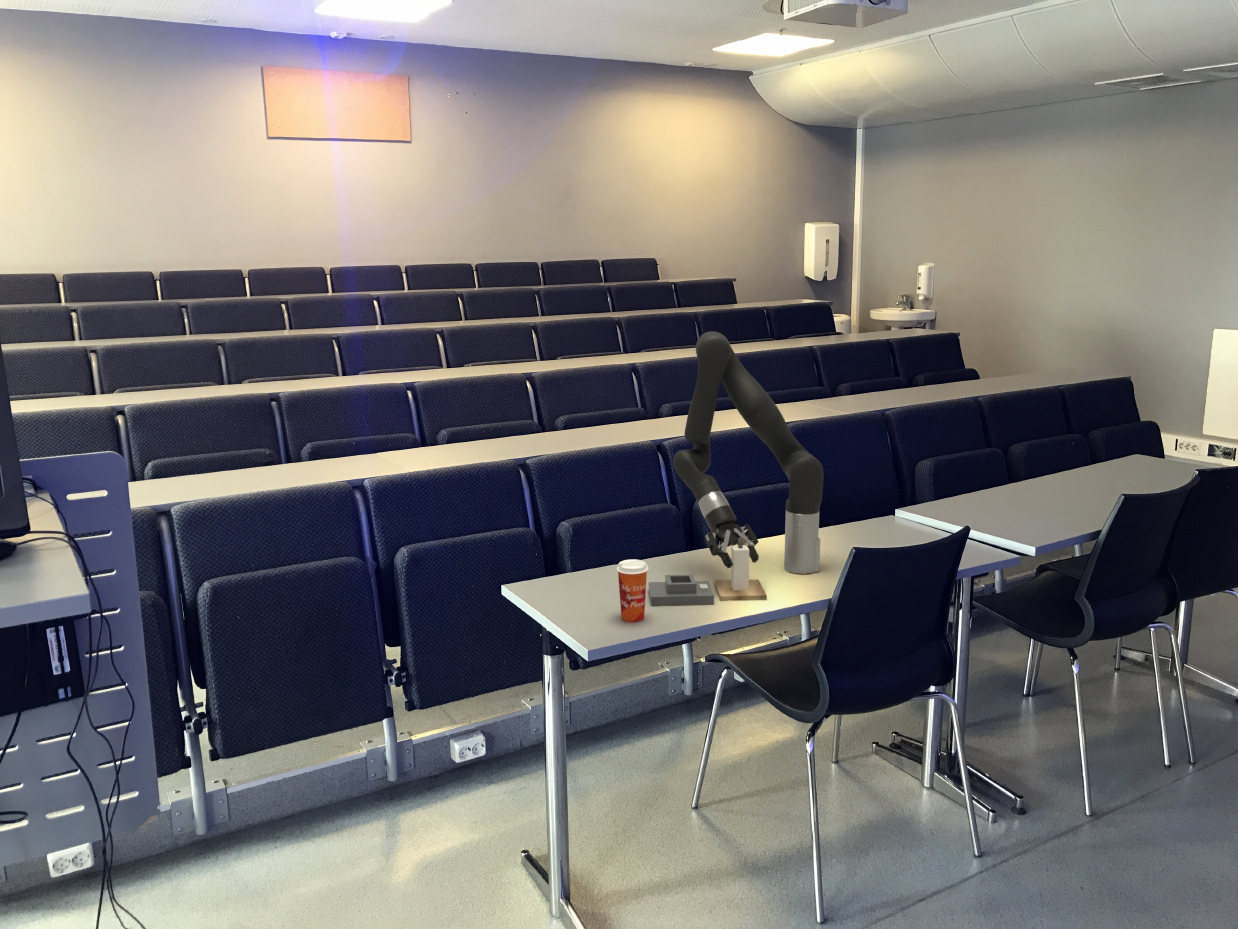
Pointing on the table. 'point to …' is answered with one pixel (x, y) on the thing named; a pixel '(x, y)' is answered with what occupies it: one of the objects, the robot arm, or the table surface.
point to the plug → (740, 566)
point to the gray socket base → (680, 591)
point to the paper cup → (632, 589)
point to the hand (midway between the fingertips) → (743, 564)
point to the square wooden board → (739, 591)
